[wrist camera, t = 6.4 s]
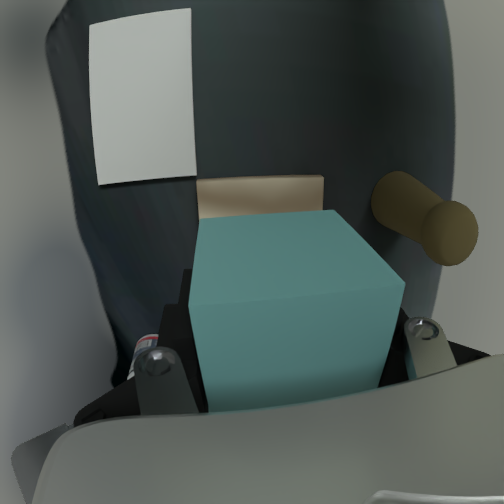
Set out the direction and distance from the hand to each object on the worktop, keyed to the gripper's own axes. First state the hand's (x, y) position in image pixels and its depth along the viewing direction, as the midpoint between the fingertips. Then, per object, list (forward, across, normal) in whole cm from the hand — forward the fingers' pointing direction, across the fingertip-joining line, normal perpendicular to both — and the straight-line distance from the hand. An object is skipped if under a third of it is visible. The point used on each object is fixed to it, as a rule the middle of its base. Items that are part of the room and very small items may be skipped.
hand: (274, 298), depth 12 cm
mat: (+18, +8, -9) cm, 22 cm away
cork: (+18, -16, +2) cm, 24 cm away
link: (+1, 0, +4) cm, 4 cm away
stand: (+18, -2, +7) cm, 19 cm away
